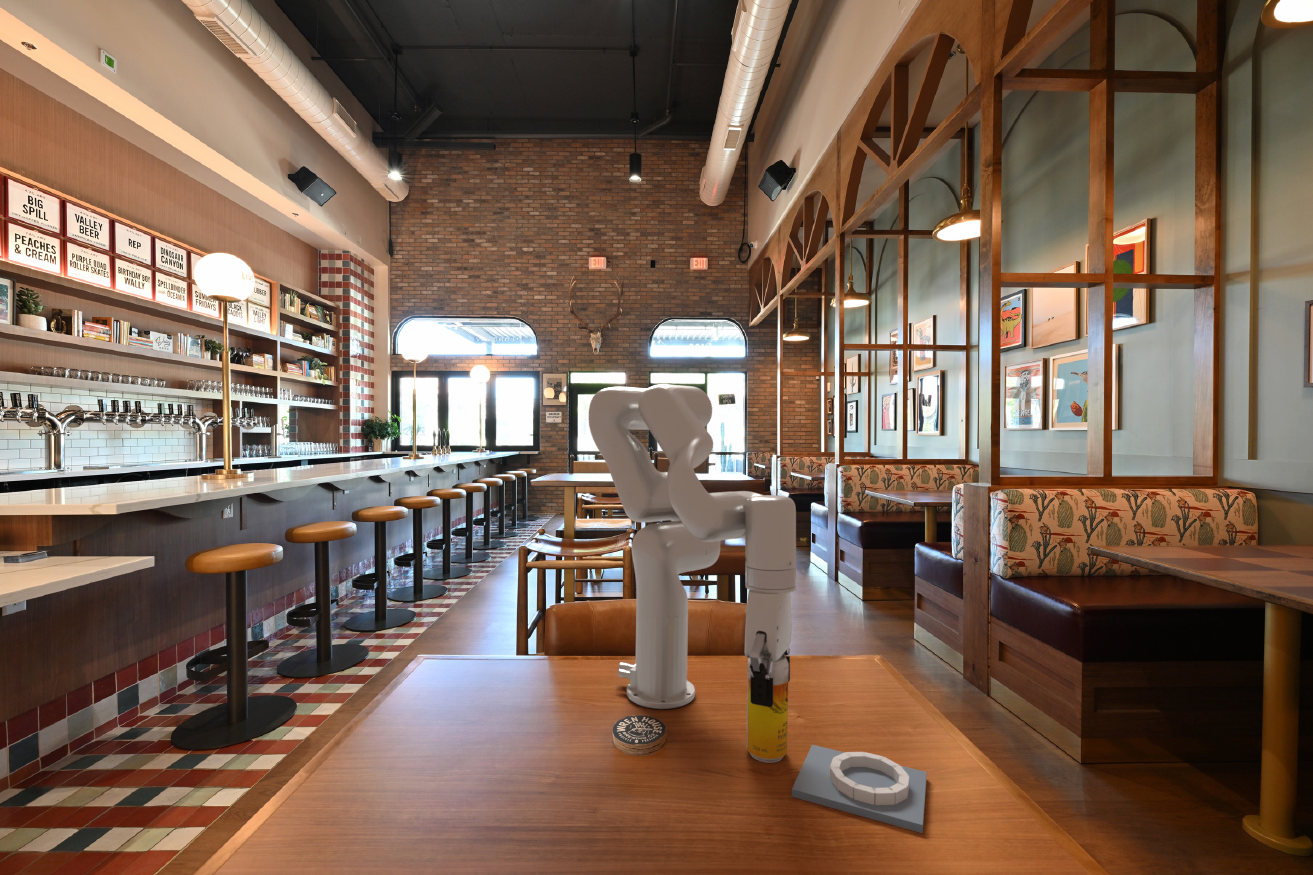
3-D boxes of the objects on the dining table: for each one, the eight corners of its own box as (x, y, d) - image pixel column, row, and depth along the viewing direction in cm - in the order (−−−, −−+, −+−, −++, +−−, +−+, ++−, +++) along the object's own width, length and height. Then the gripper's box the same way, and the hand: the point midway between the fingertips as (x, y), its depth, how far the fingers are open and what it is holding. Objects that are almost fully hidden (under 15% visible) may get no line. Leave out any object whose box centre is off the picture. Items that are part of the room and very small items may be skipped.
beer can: (787, 766, 88) (789, 664, 88) (744, 761, 89) (746, 660, 89) (786, 745, 94) (788, 649, 94) (747, 741, 95) (748, 646, 95)
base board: (791, 796, 81) (792, 777, 81) (812, 750, 92) (812, 734, 92) (922, 833, 74) (922, 812, 74) (926, 778, 85) (926, 761, 85)
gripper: (762, 565, 100) (762, 669, 100) (727, 587, 85) (728, 710, 85) (807, 569, 97) (808, 676, 97) (780, 593, 82) (781, 720, 81)
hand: (771, 692), depth 91 cm, fingers open, 9 cm apart
